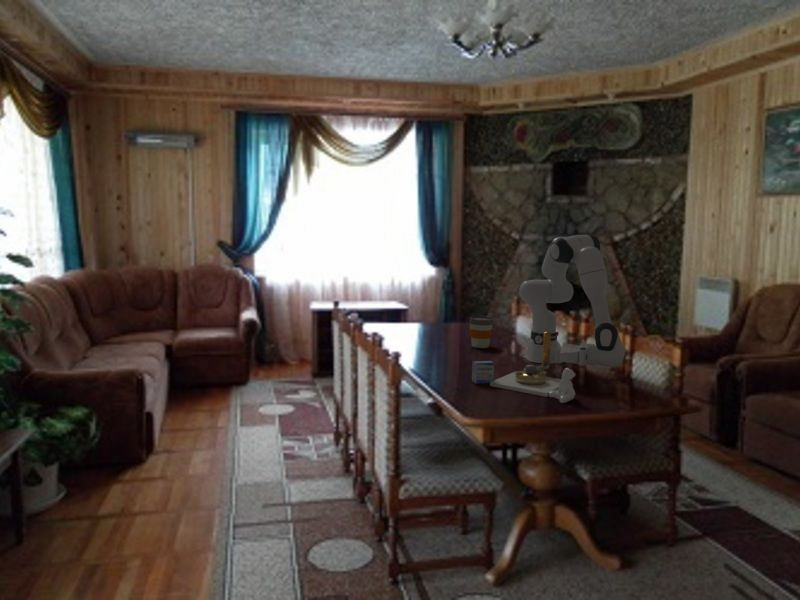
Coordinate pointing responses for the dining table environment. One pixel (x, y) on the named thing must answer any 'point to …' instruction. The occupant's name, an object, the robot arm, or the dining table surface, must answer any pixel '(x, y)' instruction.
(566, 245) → the robot arm
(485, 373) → the medicine box
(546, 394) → the white rectangular board
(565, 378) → the seated beast figurine
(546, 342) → the brass disc with post
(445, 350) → the dining table surface
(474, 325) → the reusable coffee cup
